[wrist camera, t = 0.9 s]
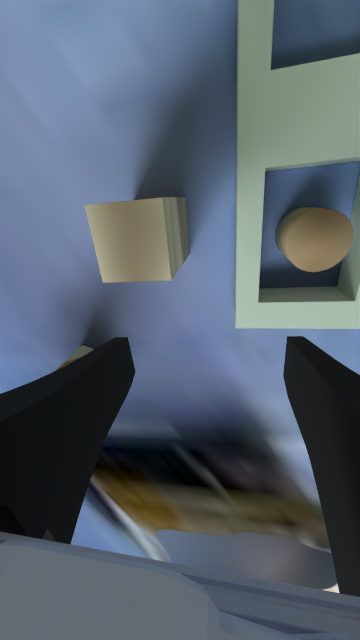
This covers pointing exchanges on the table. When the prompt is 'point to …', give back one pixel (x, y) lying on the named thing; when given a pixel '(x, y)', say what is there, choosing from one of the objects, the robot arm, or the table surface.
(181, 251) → the maple peg
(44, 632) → the robot arm
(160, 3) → the table surface
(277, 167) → the green board with holes
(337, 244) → the tan cylinder
